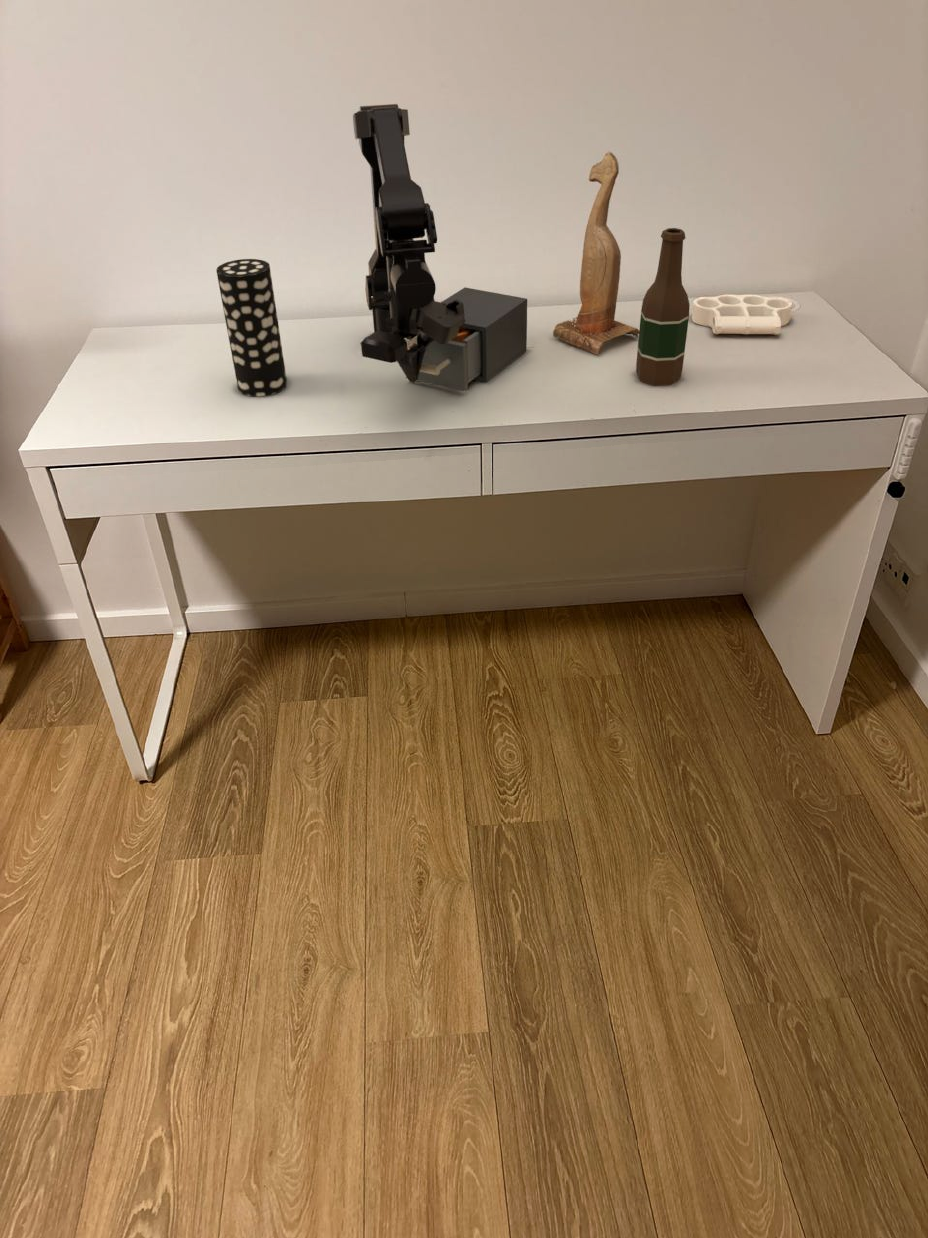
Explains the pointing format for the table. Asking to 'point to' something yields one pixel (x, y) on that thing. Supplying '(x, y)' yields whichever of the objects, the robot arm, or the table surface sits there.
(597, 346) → the bird sculpture
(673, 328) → the beer bottle
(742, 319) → the white brass knuckles
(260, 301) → the spotted tube
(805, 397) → the table surface
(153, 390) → the table surface
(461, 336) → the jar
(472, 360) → the drawer
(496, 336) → the cabinet
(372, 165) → the robot arm
